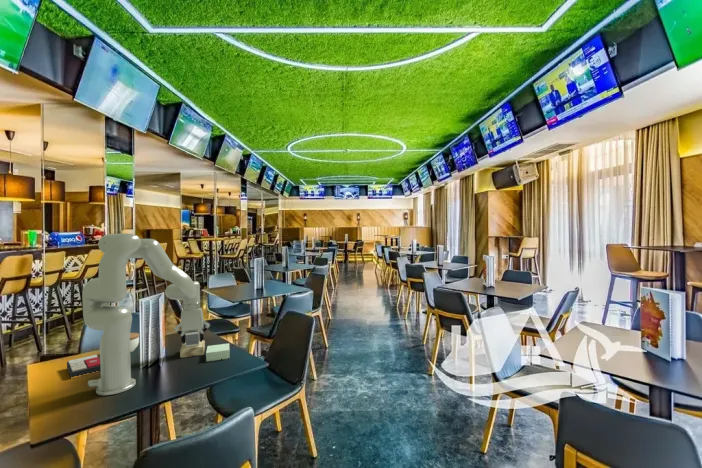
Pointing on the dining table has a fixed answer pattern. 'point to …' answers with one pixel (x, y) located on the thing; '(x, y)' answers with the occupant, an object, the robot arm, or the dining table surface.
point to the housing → (192, 338)
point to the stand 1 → (192, 350)
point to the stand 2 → (217, 352)
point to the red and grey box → (84, 365)
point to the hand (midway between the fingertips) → (192, 342)
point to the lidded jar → (134, 341)
